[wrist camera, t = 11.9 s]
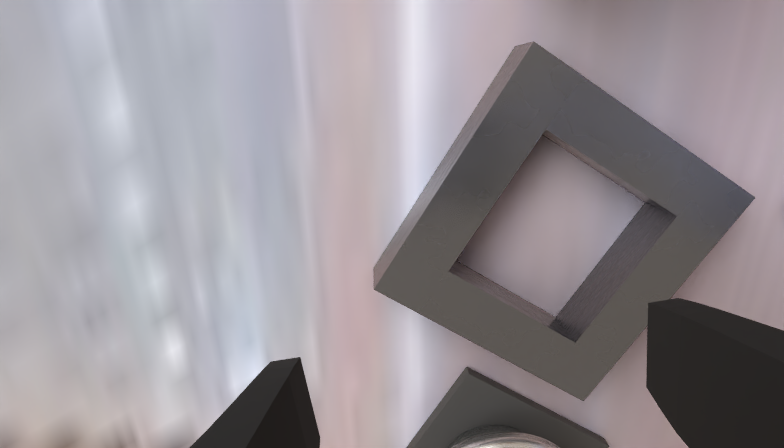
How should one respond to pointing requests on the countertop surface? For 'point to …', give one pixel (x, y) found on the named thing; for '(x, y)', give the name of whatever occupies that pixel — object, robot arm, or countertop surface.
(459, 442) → the door knob
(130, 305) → the countertop surface
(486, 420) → the mat
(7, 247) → the countertop surface
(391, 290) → the frame
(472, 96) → the countertop surface
